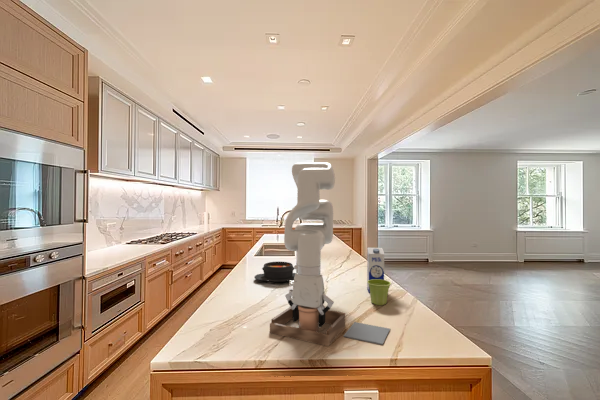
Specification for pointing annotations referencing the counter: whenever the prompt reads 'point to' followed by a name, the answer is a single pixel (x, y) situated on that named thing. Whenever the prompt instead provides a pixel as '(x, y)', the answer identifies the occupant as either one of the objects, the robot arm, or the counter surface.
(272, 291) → the counter surface
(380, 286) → the plant pot
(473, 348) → the counter surface
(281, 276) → the casserole
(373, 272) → the milk carton
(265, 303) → the counter surface
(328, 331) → the wooden tray
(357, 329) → the mat
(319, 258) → the robot arm
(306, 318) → the terracotta pot
